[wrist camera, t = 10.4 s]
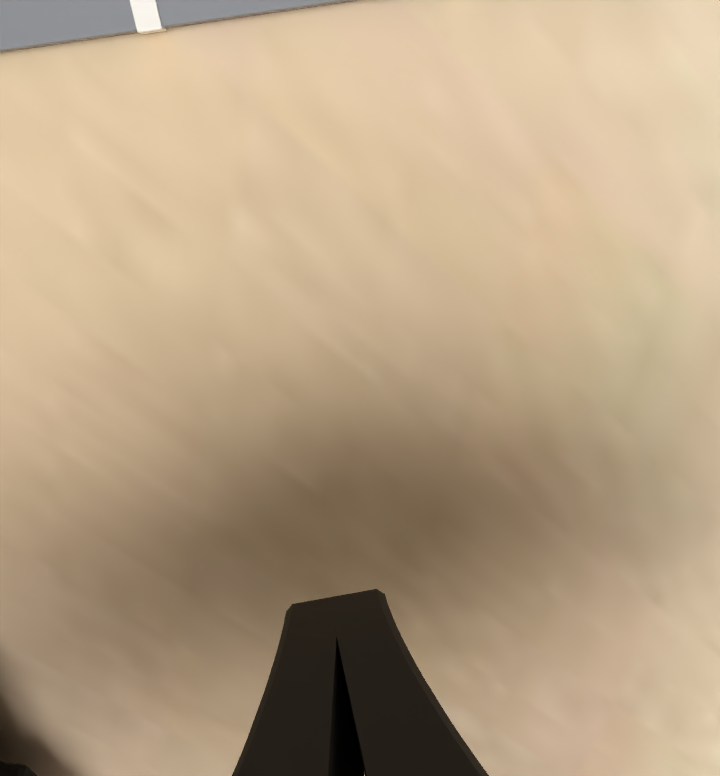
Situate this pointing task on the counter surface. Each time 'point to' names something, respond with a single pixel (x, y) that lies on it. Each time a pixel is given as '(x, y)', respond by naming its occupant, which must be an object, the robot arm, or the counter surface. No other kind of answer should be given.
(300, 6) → the scale strip
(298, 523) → the counter surface
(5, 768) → the tape measure
